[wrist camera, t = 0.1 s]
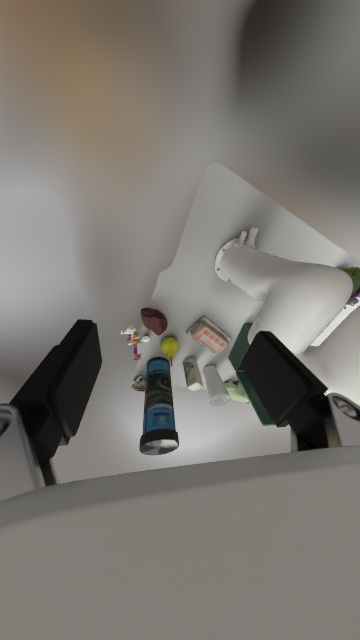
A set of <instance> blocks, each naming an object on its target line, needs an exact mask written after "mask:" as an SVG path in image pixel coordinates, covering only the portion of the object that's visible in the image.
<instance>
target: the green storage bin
mask: <svg viewBox="0 0 360 640" xmlns="http://www.w3.org/2000/svg"><path fill="white" fill-rule="evenodd" d="M251 326H252V324H249V323H244V325H243V327H242V329H241V332H240V334H239V336H238V338H237V340H236V342H235V344H234V346H233V349H232V351H231V353H230V355H229V357H228V358H229V360H230V362H231V363H232V365H233V367H234V369H235V371H243V369H242V367H241V361H242V359H243V357H244V355H245V354H246V352H247V350H248V348H249V346H250V344H249V342H248V333H249V330H250V328H251Z"/></svg>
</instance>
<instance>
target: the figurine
mask: <svg viewBox="0 0 360 640" xmlns="http://www.w3.org/2000/svg"><path fill="white" fill-rule="evenodd" d="M232 382H233V379H232V380H229V381H228V383H224V385H225V387H226V389H227V391H228V393H229V395H230V398H232V399H234V400H238V401H244V402H245V403H246V404H249V401H250V400H249V398H248V396H247V394H246V392H245V390H244V388H243V386H242V384H241V382H240V381H239V382H238V385H235V384H233V383H232Z"/></svg>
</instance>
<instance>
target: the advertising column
mask: <svg viewBox="0 0 360 640" xmlns="http://www.w3.org/2000/svg"><path fill="white" fill-rule="evenodd" d="M178 446H179V441H178V433H177V432H176V430H175V420H174V408H173V397H172V387H171V376H170V365H169V361H168V360H167V359H165V358H163V357H156V358H153V359H150V360H149V361H148V363H147V370H146V387H145V403H144V420H143V435H142V436H141V439H140V451H141V453H143V454H147V455H160V454H166V453H169V452H171V451H173V450H175V449H177V447H178Z"/></svg>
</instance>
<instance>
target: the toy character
mask: <svg viewBox="0 0 360 640" xmlns="http://www.w3.org/2000/svg"><path fill="white" fill-rule="evenodd" d="M135 331H136V329H135V328H132V326H130V327H129V328H128V329H127V330H126V331H125V332H124V334H129V335H128V337H129V339H127V340H130V341H132V343H133V344H134V354H135V355H136V356H135V357H136V359H134V360H138V359H141V357H140V355H141V354H140V355H138V353H137V342H138V343H141V342H140V341H139V340H136V338H137V337H138V334H137V333H136V332H135ZM121 332H122V330H121ZM121 334H123V333H121ZM138 338H140V337H138ZM142 340H143V342H147V341H150V339H149V337H148V336H145V337H142ZM142 340H141V341H142ZM129 345H131V344H129Z"/></svg>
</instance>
